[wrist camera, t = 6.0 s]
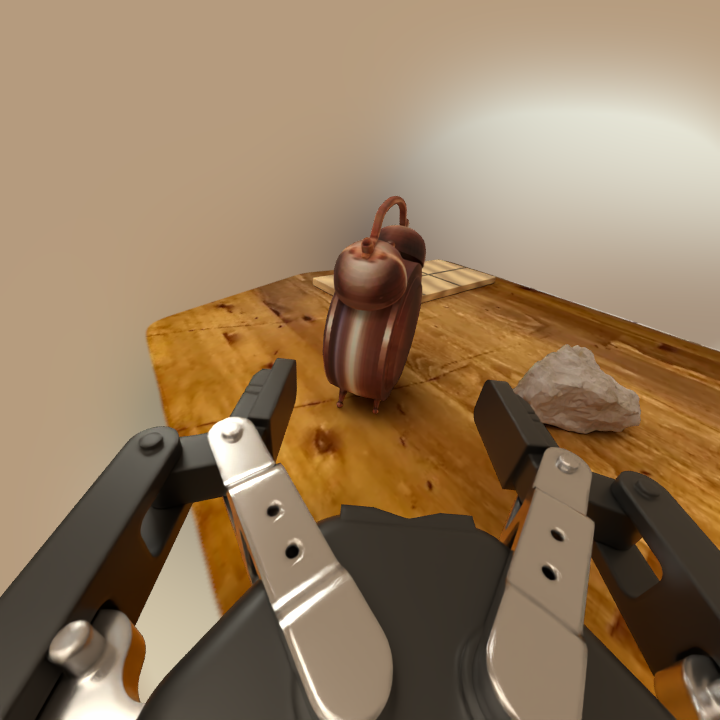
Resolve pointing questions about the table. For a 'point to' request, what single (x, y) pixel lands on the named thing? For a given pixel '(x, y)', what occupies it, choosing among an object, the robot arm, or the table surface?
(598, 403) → the stone
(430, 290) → the board
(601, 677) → the robot arm
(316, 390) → the table surface
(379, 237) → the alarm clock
